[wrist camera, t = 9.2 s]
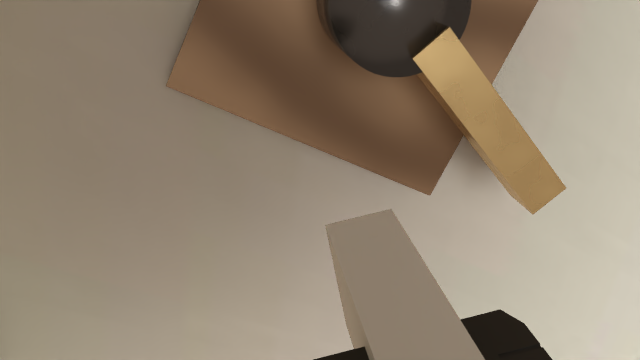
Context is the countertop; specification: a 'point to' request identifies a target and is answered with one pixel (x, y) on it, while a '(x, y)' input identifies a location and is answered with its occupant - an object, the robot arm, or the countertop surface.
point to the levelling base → (332, 83)
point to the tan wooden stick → (443, 80)
